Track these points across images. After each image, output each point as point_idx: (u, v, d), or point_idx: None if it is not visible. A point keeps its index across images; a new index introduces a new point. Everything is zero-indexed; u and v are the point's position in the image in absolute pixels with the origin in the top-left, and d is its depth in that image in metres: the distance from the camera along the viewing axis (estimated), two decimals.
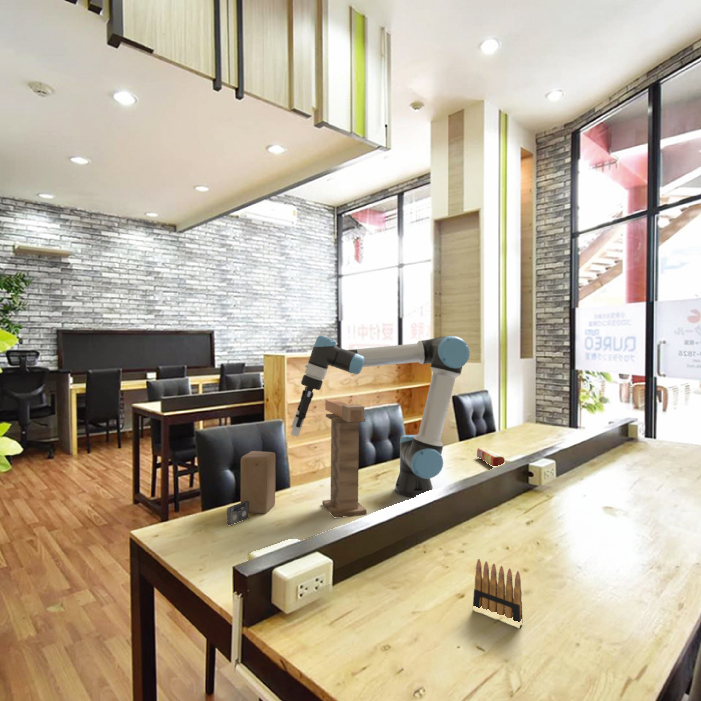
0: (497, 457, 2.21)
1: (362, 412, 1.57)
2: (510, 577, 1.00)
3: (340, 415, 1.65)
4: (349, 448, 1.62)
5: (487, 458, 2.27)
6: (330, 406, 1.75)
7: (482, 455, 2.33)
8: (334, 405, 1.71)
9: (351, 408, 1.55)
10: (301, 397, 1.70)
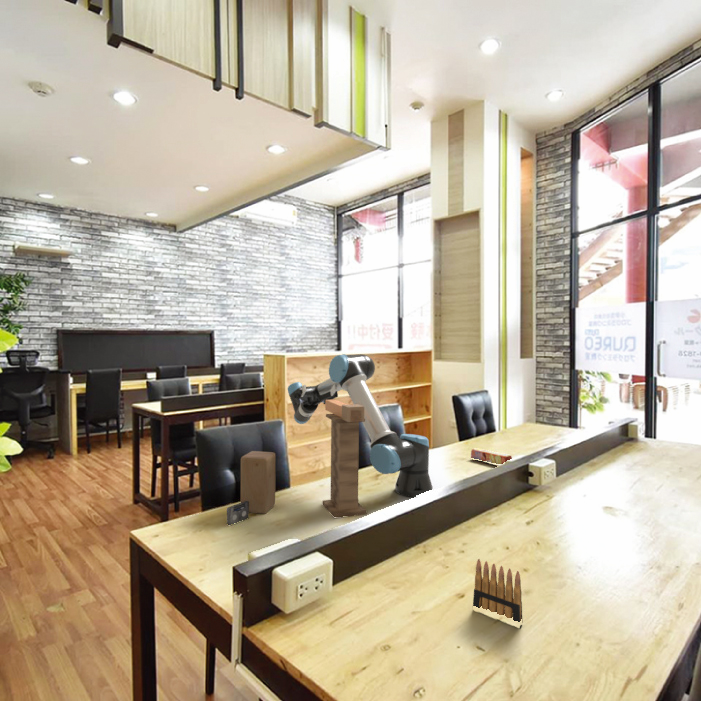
0: (507, 456, 2.23)
1: (362, 412, 1.57)
2: (509, 577, 1.00)
3: (340, 415, 1.65)
4: (349, 448, 1.62)
5: (494, 458, 2.26)
6: (330, 406, 1.75)
7: (483, 456, 2.31)
8: (334, 405, 1.71)
9: (351, 408, 1.55)
10: (319, 401, 2.05)
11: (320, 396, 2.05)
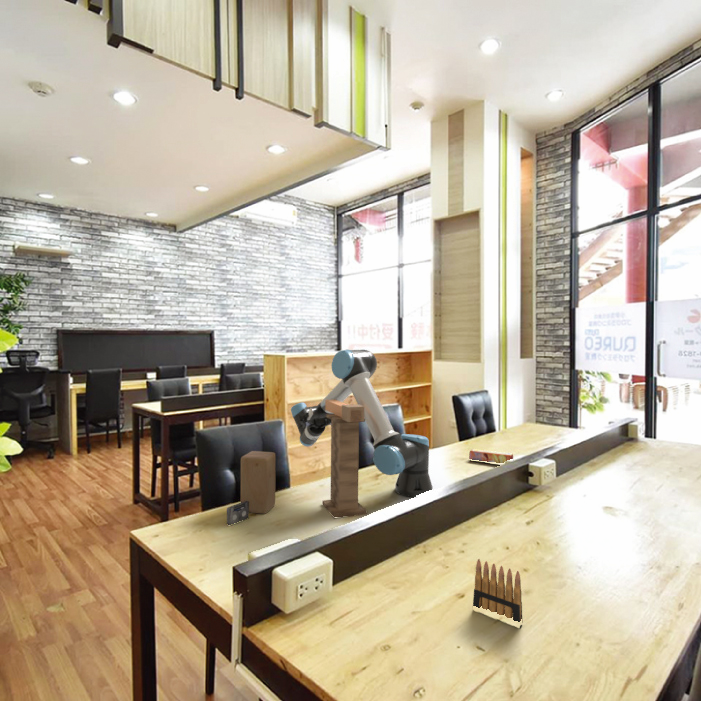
0: (511, 455, 2.26)
1: (362, 412, 1.57)
2: (509, 577, 1.00)
3: (340, 415, 1.65)
4: (349, 448, 1.62)
5: (497, 458, 2.27)
6: (330, 406, 1.75)
7: (485, 456, 2.30)
8: (334, 405, 1.71)
9: (351, 408, 1.55)
10: (326, 424, 1.93)
11: (327, 418, 1.94)
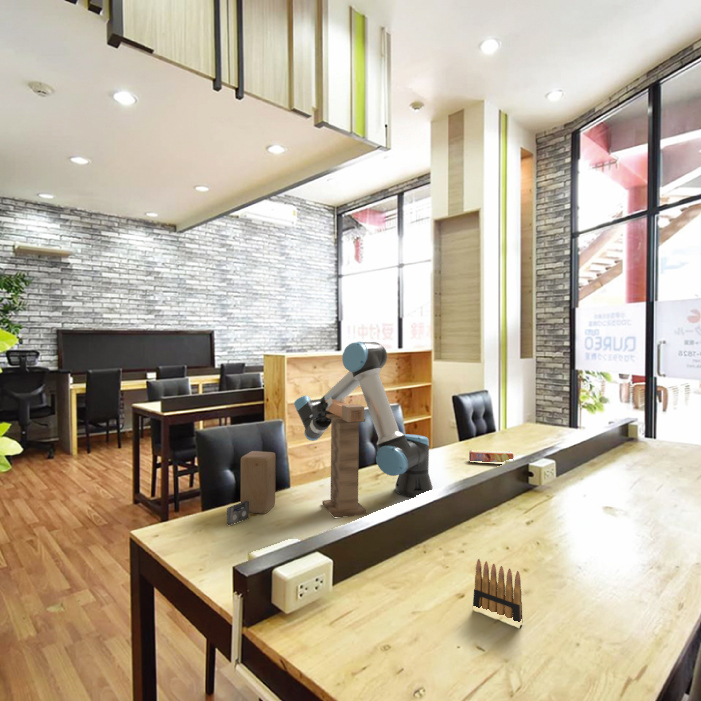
0: (512, 453, 2.29)
1: (362, 412, 1.57)
2: (509, 577, 1.00)
3: (340, 415, 1.64)
4: (349, 448, 1.62)
5: (500, 457, 2.28)
6: None
7: (487, 457, 2.29)
8: (334, 405, 1.71)
9: (351, 408, 1.55)
10: None
11: None
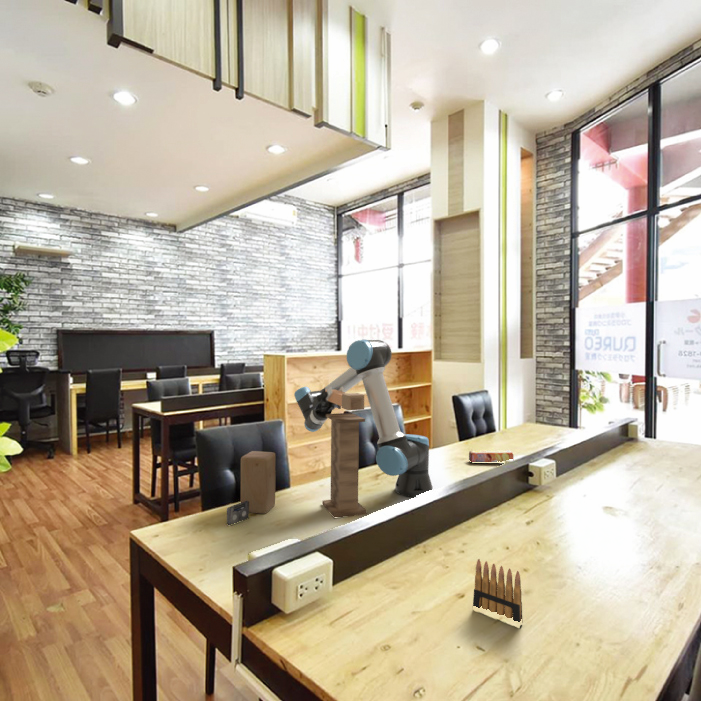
0: (511, 452, 2.31)
1: (362, 400, 1.57)
2: (509, 577, 1.00)
3: (340, 404, 1.65)
4: (349, 448, 1.62)
5: (500, 457, 2.29)
6: None
7: (488, 457, 2.29)
8: (334, 394, 1.71)
9: (351, 396, 1.55)
10: (330, 407, 1.86)
11: None
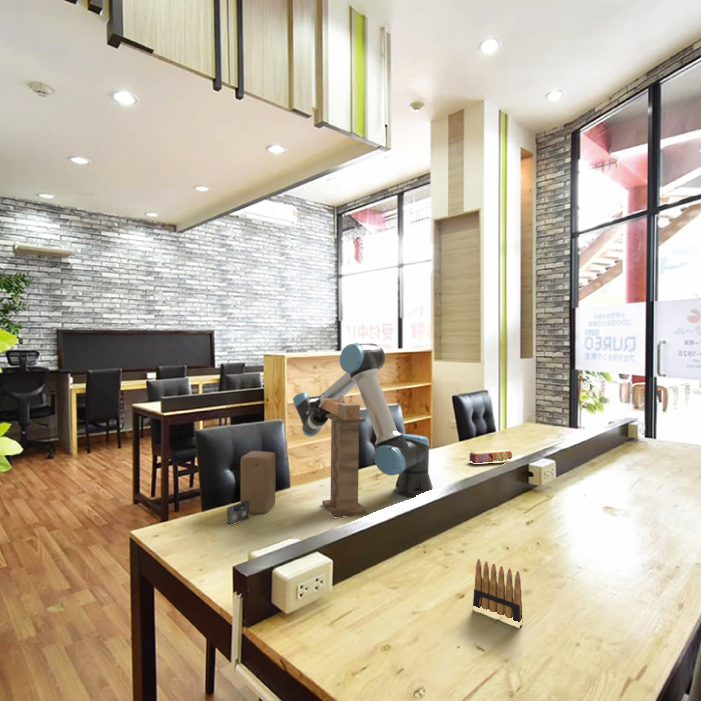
0: None
1: (358, 410, 1.60)
2: (509, 577, 1.00)
3: (336, 413, 1.68)
4: (349, 448, 1.62)
5: (501, 456, 2.30)
6: (327, 404, 1.79)
7: (490, 457, 2.29)
8: (331, 404, 1.75)
9: (347, 406, 1.59)
10: (328, 413, 1.89)
11: None
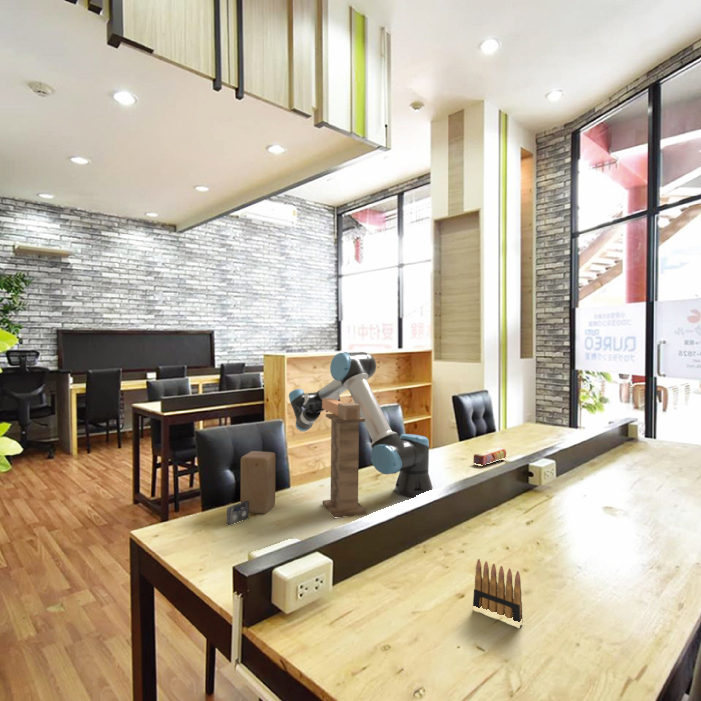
0: None
1: (358, 410, 1.60)
2: (509, 577, 1.00)
3: (336, 413, 1.68)
4: (349, 448, 1.62)
5: (499, 455, 2.33)
6: (327, 404, 1.79)
7: (492, 457, 2.29)
8: (331, 404, 1.75)
9: (347, 406, 1.59)
10: (321, 409, 2.01)
11: None
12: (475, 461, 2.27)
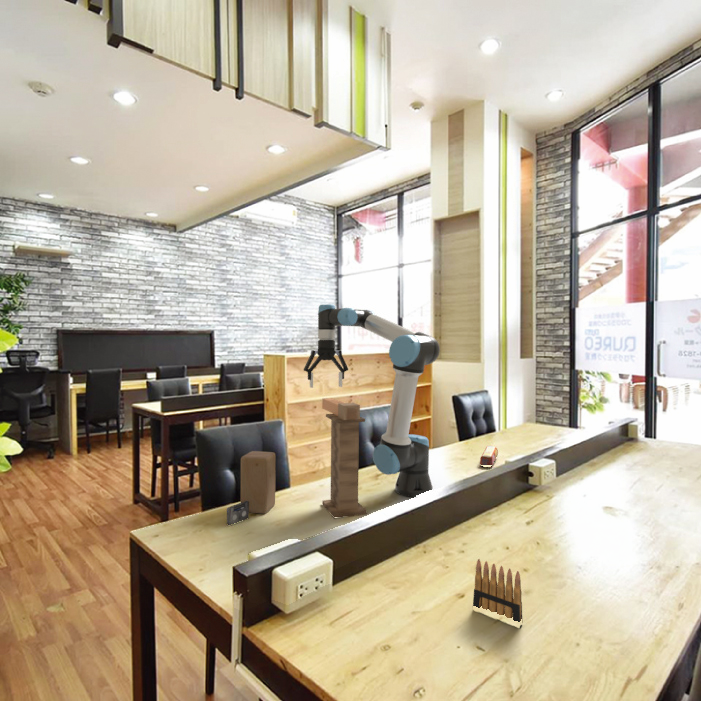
0: None
1: (358, 410, 1.60)
2: (509, 577, 1.00)
3: (336, 413, 1.68)
4: (349, 448, 1.62)
5: (496, 454, 2.36)
6: (327, 404, 1.79)
7: (494, 457, 2.30)
8: (331, 404, 1.75)
9: (347, 406, 1.59)
10: (330, 359, 2.06)
11: (333, 361, 2.04)
12: (483, 463, 2.24)
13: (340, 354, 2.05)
